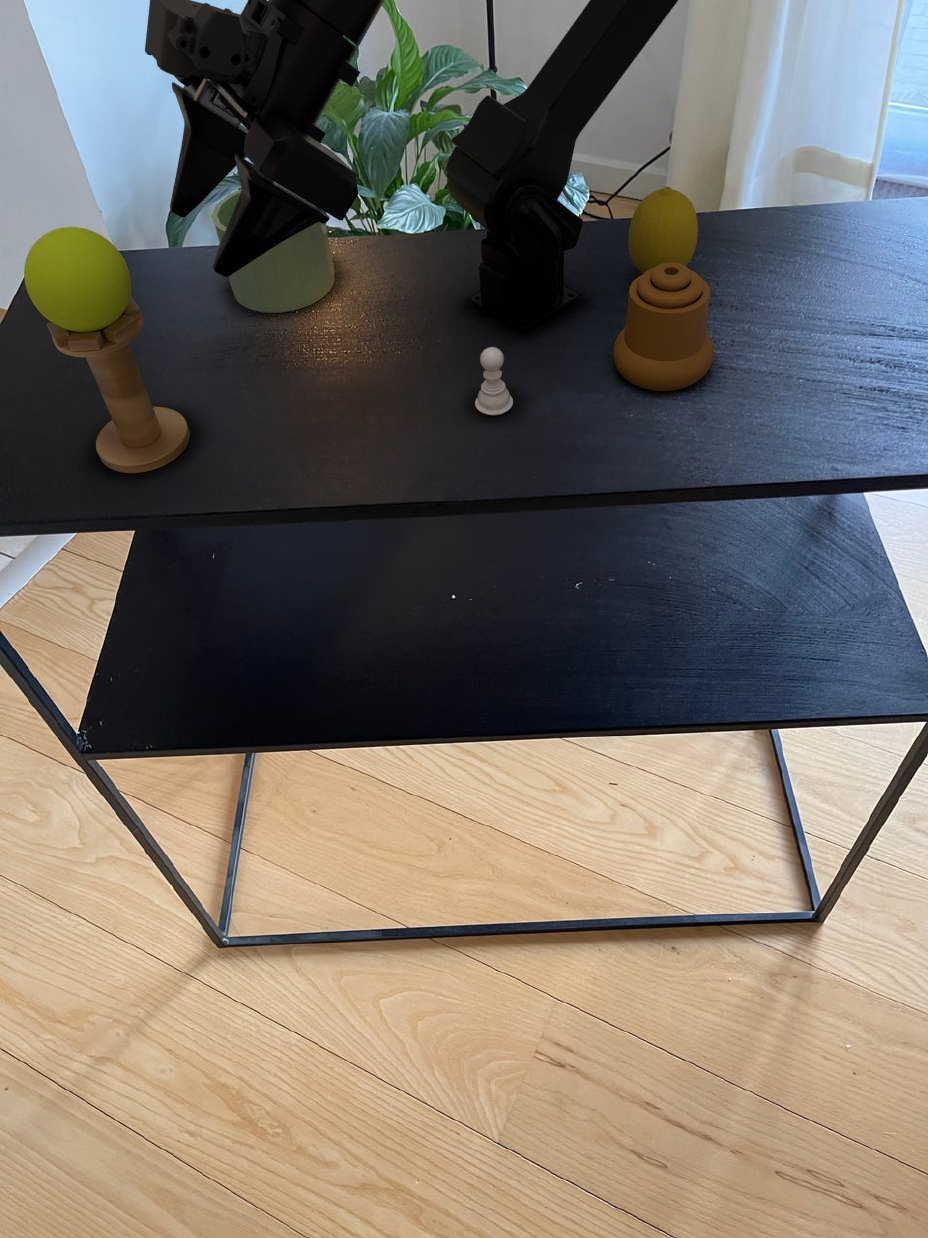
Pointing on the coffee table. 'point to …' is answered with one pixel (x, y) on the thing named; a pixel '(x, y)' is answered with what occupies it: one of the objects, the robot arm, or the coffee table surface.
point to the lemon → (663, 230)
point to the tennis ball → (77, 279)
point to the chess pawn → (493, 384)
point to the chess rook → (125, 397)
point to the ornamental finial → (665, 330)
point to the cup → (281, 267)
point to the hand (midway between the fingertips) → (197, 242)
